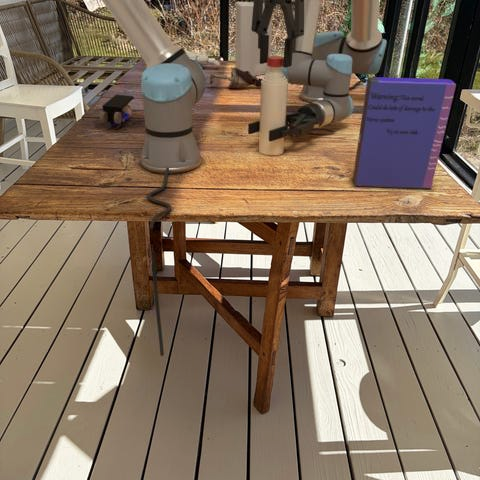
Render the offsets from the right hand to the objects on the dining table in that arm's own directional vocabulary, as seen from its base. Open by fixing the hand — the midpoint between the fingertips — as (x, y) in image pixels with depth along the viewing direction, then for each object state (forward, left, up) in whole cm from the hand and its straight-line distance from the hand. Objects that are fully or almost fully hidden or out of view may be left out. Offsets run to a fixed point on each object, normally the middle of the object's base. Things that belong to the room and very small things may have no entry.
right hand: (259, 132), depth 126 cm
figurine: (-68, -29, -6) cm, 74 cm away
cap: (-4, +2, +18) cm, 19 cm away
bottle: (-4, +2, -6) cm, 8 cm away
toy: (-94, -68, -6) cm, 116 cm away
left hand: (-4, +2, +17) cm, 17 cm away
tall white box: (-97, -37, -6) cm, 104 cm away
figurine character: (-8, -49, -6) cm, 50 cm away
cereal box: (+5, +35, -6) cm, 36 cm away
